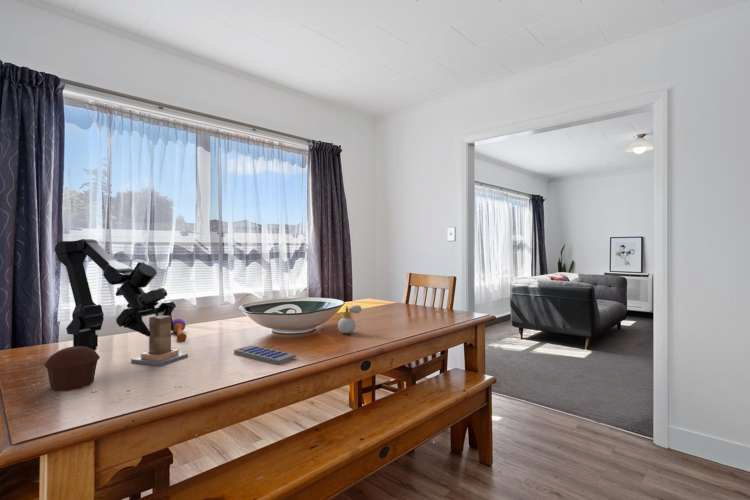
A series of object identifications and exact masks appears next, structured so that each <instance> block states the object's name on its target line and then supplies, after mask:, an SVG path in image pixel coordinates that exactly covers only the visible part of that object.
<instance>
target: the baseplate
mask: <svg viewBox="0 0 750 500" xmlns="http://www.w3.org/2000/svg"><path fill="white" fill-rule="evenodd" d="M188 355H189V353H186V352H179V349H175V348H171V352H168V353H165V354H162V355H155V354H149V350H148V351H145V352H143V353H141V354H140V355H139V356H136V357H134V358H131V359H130V362H131V363H135V364H141V365H149V366H156V367H163V366H165V365H168V364H171V363H173V362H176V361H178V360H182V359H185V358H188V357H189V356H188Z"/></svg>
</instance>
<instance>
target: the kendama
mask: <svg viewBox="0 0 750 500" xmlns="http://www.w3.org/2000/svg"><path fill="white" fill-rule="evenodd" d="M172 321H173V325H174V329H173V330H171V333H172V332H173V333H175V334H176V338H177V341H178V342H185V341H186V339H187V338H188V337H187V334H186V333H185V332H184V330H185V328H186V323H185V321H184V320H183V319H182V318H175V319H172Z"/></svg>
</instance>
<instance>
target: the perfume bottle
mask: <svg viewBox="0 0 750 500" xmlns="http://www.w3.org/2000/svg"><path fill="white" fill-rule="evenodd" d="M344 309H345V311H344V312H343V316H342V318H340V319H339V321H338V323H337V327H338V328H337V329H338V330H339V332H340V333H342V334H343V333H346V334H345V335H348V334H347V333H350V334H352V333H353V332H354V331H355V330H356V321H355V320H354V318H352V316H351V313H353V314H359V313H361V311H362V307H361V305H359V304H357V305H352V306H351V307H350V308H349V307H348V306H346V307H345V308H344Z"/></svg>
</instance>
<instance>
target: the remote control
mask: <svg viewBox="0 0 750 500" xmlns="http://www.w3.org/2000/svg"><path fill="white" fill-rule="evenodd" d="M233 354H234V355H235V356H236V355H237V356H242V357H245V358H249V359H253V360H257V361H262V362H265V363H271V364H273V365H282V364H284V362H285V363H287V362H290V361H292V360H291V359H293V360H295V359H294V358H297V357H296V356H297V354H295V353H289V352H285V351H280V350H278V349H277V350H275V349H271V348H268V347H262V346H257V345H246V346H243V347H238V348H236V349H233ZM289 360H290V361H289ZM286 361H287V362H286ZM281 363H282V364H281Z"/></svg>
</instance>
